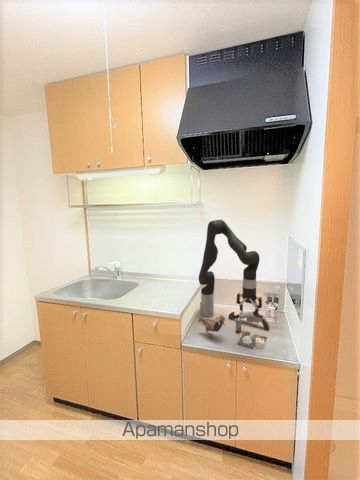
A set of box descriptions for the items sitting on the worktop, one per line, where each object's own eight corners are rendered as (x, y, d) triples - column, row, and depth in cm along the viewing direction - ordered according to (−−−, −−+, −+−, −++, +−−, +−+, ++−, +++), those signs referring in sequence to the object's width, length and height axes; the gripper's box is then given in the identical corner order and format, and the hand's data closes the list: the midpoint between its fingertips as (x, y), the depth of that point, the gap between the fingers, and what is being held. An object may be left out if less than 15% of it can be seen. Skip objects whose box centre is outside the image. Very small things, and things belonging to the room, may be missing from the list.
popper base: (237, 346, 142) (237, 342, 142) (242, 338, 149) (242, 335, 149) (252, 350, 137) (252, 347, 137) (256, 342, 145) (256, 339, 144)
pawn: (234, 332, 155) (235, 319, 153) (236, 329, 158) (236, 316, 156) (240, 333, 153) (240, 320, 151) (242, 331, 156) (242, 318, 154)
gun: (269, 332, 153) (261, 310, 155) (233, 335, 170) (226, 314, 171) (272, 329, 158) (263, 307, 159) (236, 331, 174) (229, 311, 175)
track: (233, 334, 154) (233, 332, 154) (236, 329, 159) (236, 328, 159) (265, 343, 144) (265, 342, 143) (267, 338, 148) (267, 337, 148)
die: (255, 348, 139) (255, 341, 138) (256, 344, 143) (256, 337, 142) (263, 350, 137) (263, 343, 137) (264, 346, 142) (264, 338, 141)
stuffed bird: (225, 346, 142) (225, 319, 139) (193, 338, 150) (193, 313, 147) (229, 337, 151) (229, 312, 148) (199, 330, 159) (199, 306, 156)
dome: (241, 344, 143) (241, 337, 142) (244, 340, 147) (244, 332, 146) (250, 347, 140) (250, 339, 139) (253, 343, 144) (253, 335, 143)
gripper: (235, 285, 138) (234, 312, 141) (260, 290, 131) (259, 318, 133) (239, 281, 144) (238, 307, 147) (263, 285, 137) (262, 312, 140)
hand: (248, 312), depth 140 cm, fingers open, 8 cm apart
